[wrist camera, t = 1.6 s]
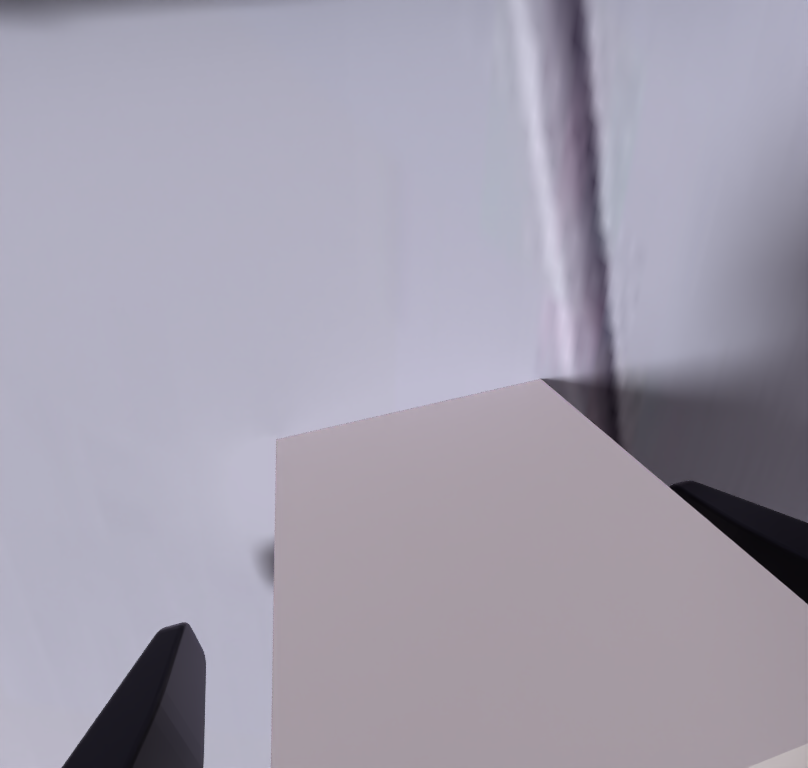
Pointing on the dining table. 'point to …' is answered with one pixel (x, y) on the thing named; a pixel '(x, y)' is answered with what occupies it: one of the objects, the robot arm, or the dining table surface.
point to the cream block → (517, 603)
